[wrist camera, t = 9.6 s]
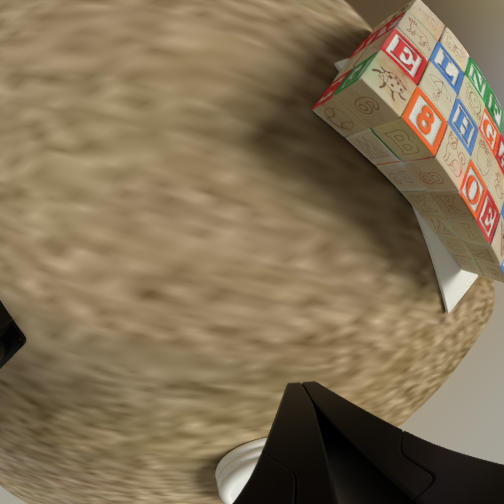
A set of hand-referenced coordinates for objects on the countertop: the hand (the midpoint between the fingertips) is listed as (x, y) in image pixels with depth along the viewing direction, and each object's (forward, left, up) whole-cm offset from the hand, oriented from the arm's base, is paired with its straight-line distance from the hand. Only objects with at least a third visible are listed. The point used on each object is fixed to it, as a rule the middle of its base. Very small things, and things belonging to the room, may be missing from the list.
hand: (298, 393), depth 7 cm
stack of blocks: (+14, -3, -8) cm, 17 cm away
